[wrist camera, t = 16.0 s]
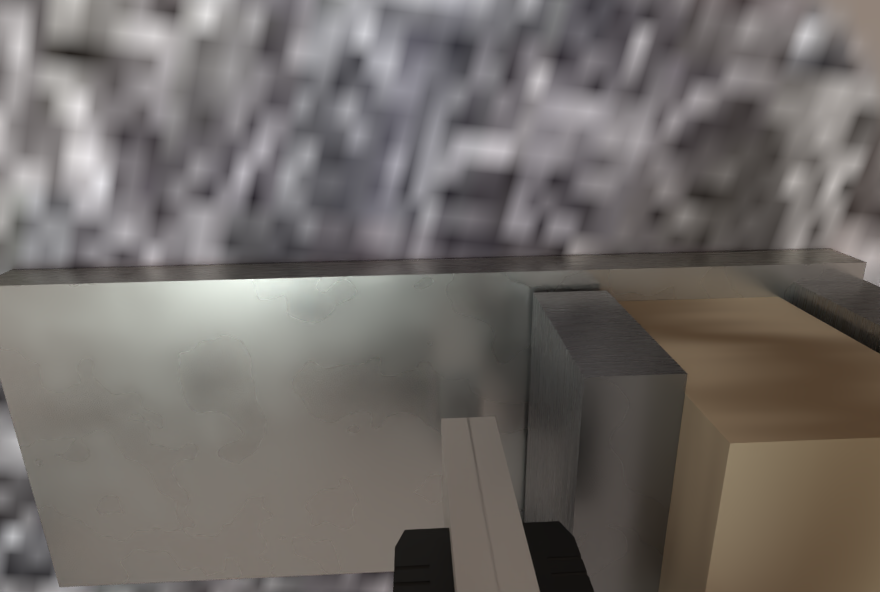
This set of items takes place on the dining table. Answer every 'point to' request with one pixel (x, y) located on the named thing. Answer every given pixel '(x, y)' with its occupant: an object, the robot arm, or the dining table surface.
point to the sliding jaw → (602, 435)
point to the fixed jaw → (843, 307)
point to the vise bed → (292, 397)
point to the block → (769, 449)
